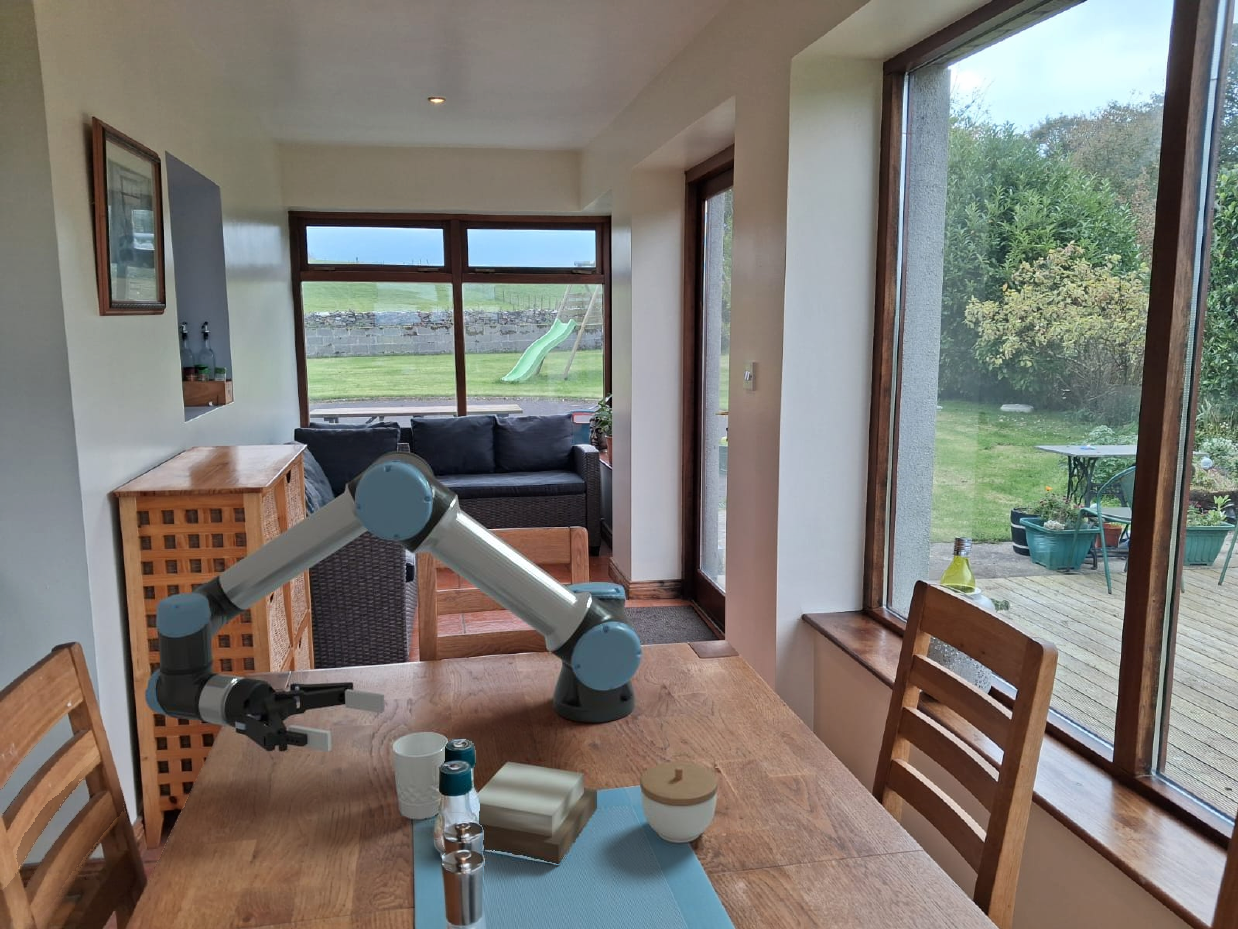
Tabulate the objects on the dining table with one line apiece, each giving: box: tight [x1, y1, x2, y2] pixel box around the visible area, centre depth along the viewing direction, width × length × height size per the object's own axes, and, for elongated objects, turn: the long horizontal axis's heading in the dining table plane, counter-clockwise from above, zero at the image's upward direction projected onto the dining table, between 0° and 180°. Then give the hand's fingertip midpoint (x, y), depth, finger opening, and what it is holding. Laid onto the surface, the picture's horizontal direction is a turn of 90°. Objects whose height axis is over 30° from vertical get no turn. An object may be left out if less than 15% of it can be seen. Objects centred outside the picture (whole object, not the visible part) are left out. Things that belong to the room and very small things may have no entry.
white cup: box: [392, 731, 449, 821], centre depth 134 cm, size 8×8×10 cm
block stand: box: [477, 761, 598, 864], centre depth 129 cm, size 15×15×6 cm
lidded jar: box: [639, 761, 719, 844], centre depth 128 cm, size 11×11×9 cm
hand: (357, 721), depth 136 cm, fingers open, 13 cm apart
